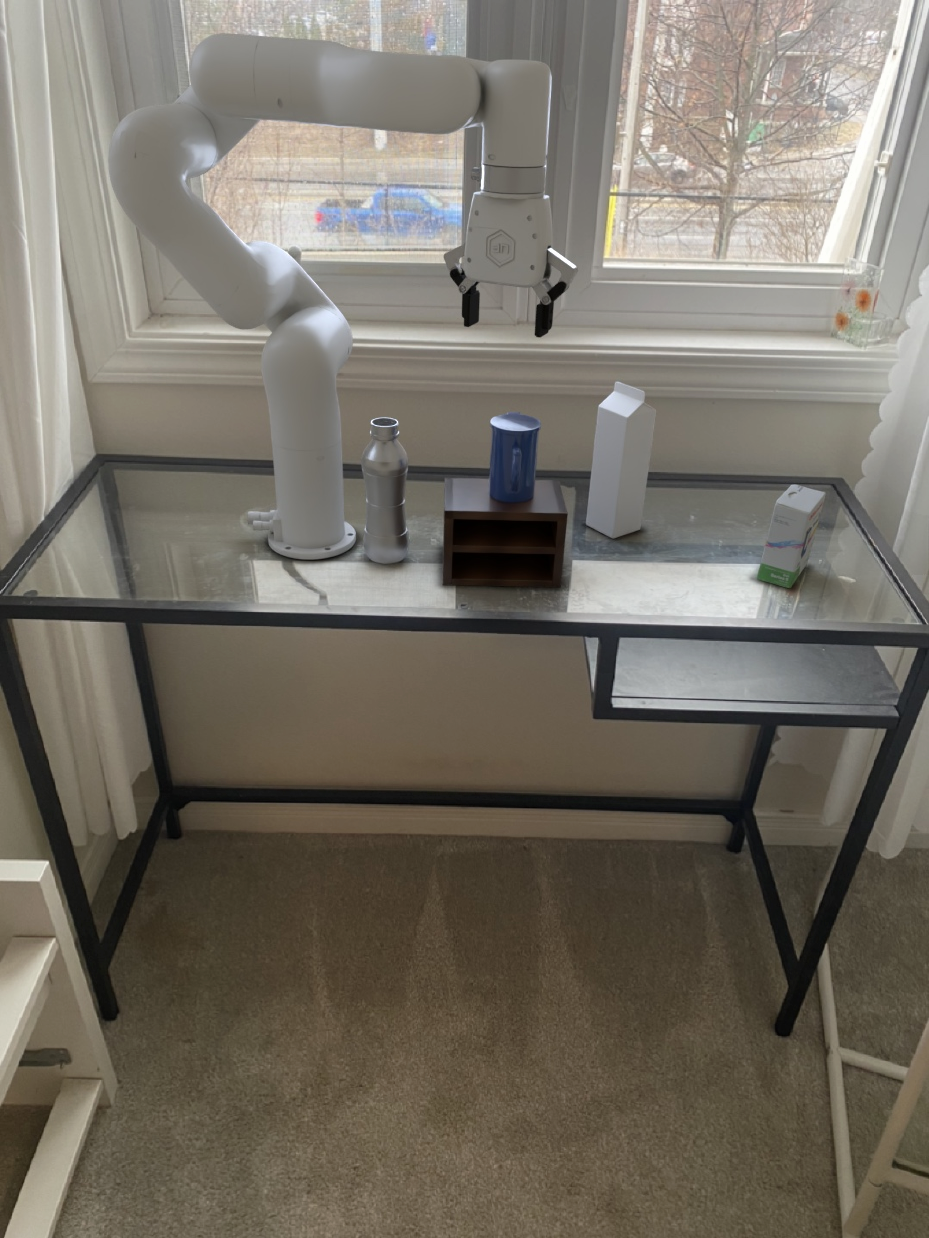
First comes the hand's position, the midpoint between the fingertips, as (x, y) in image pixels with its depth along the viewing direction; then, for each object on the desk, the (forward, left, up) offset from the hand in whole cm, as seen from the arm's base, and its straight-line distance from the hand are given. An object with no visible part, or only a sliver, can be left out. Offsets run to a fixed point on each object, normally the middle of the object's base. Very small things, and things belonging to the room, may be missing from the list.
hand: (505, 329), depth 121 cm
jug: (+2, -3, -21) cm, 21 cm away
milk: (+19, +11, -32) cm, 39 cm away
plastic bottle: (-15, -1, -32) cm, 36 cm away
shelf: (+1, -3, -32) cm, 32 cm away
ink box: (+41, -3, -32) cm, 52 cm away
